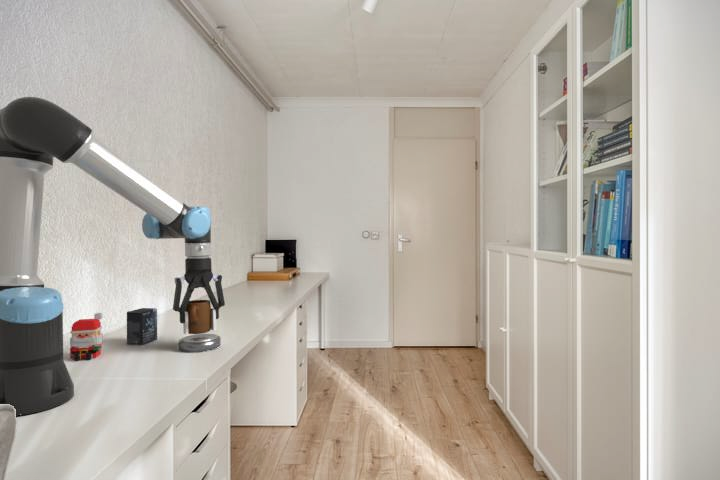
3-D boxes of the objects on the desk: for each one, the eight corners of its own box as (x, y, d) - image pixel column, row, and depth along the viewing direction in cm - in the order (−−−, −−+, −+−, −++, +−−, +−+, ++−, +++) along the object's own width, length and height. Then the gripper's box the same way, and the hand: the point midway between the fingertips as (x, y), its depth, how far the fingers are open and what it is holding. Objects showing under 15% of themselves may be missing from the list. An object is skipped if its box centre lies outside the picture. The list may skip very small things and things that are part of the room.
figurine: (65, 362, 121) (64, 318, 121) (74, 355, 128) (73, 314, 128) (99, 359, 123) (98, 316, 123) (107, 352, 130) (106, 312, 130)
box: (142, 345, 139) (141, 311, 138) (126, 344, 140) (125, 311, 140) (158, 339, 146) (157, 307, 146) (143, 339, 147) (142, 307, 147)
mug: (206, 337, 129) (206, 305, 129) (179, 338, 128) (178, 306, 128) (212, 328, 141) (212, 299, 141) (187, 329, 140) (187, 300, 139)
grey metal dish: (184, 354, 127) (184, 344, 127) (174, 346, 136) (174, 336, 136) (225, 348, 134) (225, 338, 133) (213, 340, 143) (213, 331, 143)
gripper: (165, 259, 126) (167, 339, 126) (235, 256, 137) (236, 329, 138) (159, 258, 132) (161, 334, 132) (227, 255, 144) (228, 325, 144)
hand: (200, 331), depth 135 cm, fingers closed on mug, 7 cm apart
